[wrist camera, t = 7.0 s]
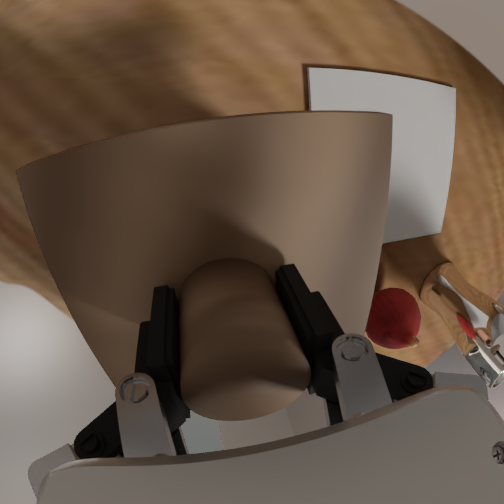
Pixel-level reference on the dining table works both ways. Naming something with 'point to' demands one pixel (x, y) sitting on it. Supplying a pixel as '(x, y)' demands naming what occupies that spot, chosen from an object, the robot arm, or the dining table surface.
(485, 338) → the beer glass
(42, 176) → the lid
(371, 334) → the onion
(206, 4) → the dining table surface
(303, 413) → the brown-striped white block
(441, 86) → the mat
